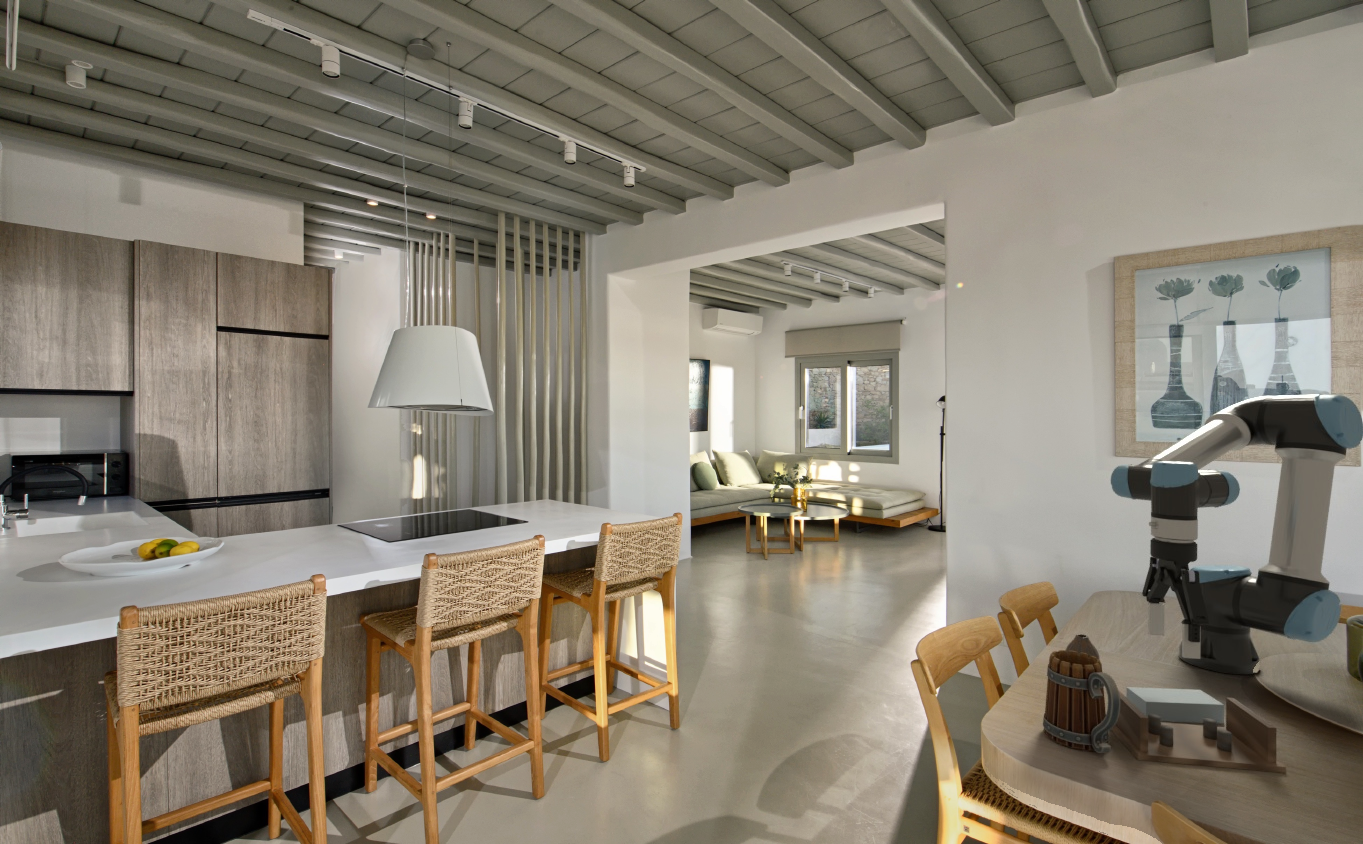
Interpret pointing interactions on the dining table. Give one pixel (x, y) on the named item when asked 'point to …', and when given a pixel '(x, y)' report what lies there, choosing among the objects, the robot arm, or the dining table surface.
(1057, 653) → the mug
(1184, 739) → the peg frame
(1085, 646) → the vase
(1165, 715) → the board
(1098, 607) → the dining table surface
